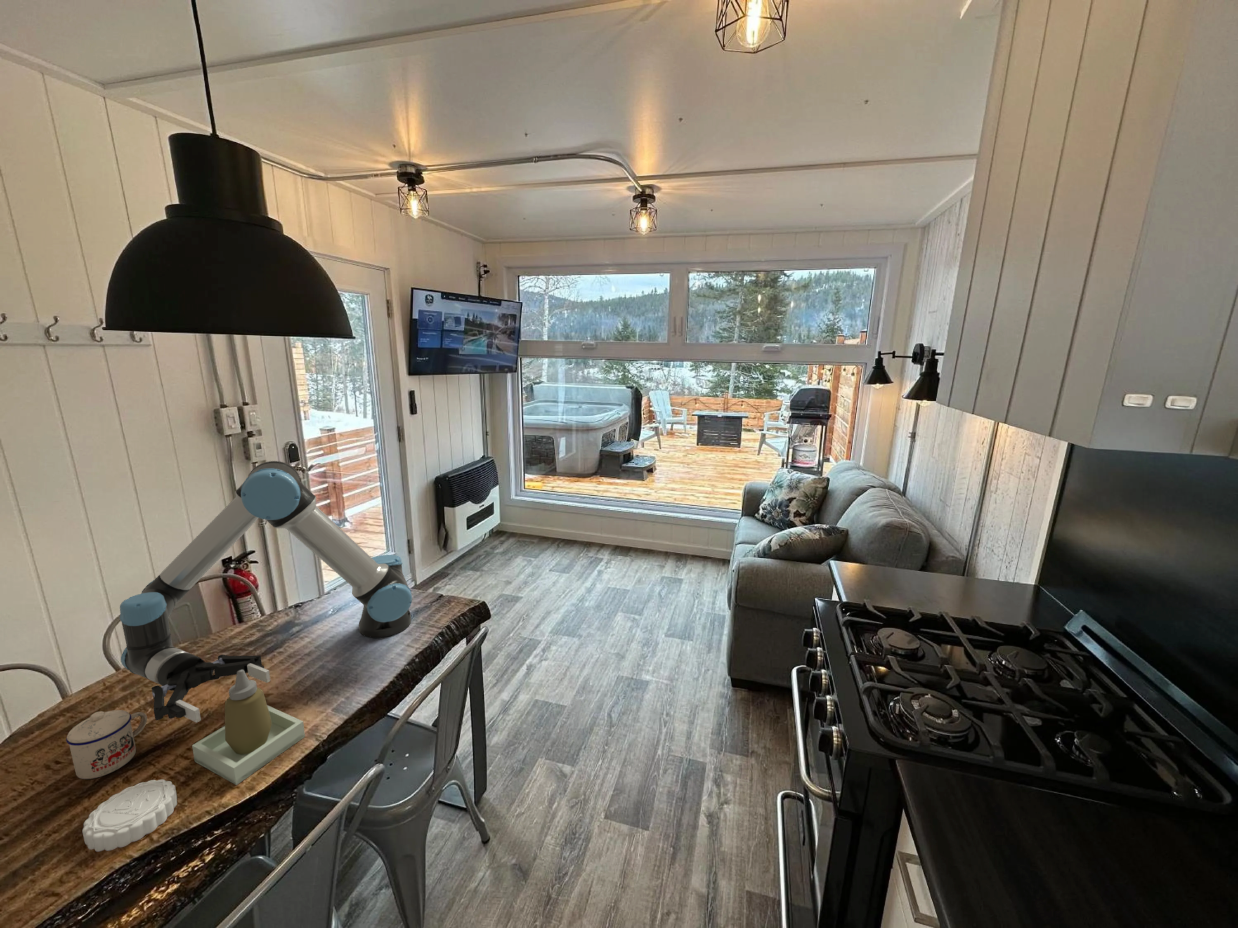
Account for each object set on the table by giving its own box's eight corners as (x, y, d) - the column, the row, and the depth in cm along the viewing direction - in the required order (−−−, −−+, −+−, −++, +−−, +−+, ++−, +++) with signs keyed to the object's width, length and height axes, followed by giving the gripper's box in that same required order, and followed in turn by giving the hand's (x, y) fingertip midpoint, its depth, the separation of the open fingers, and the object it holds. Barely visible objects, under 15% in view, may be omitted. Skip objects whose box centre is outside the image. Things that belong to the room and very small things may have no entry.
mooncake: (194, 793, 94) (192, 778, 93) (130, 855, 82) (127, 837, 81) (136, 789, 94) (133, 774, 93) (64, 849, 82) (60, 832, 82)
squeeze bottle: (218, 752, 102) (205, 677, 98) (257, 726, 109) (247, 656, 106) (244, 764, 99) (232, 687, 95) (282, 736, 107) (273, 664, 103)
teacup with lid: (94, 785, 94) (82, 735, 92) (62, 774, 96) (51, 724, 94) (164, 741, 106) (156, 694, 103) (135, 732, 108) (126, 686, 106)
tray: (264, 717, 113) (262, 703, 112) (305, 736, 108) (303, 721, 107) (194, 761, 101) (191, 745, 100) (236, 784, 95) (233, 767, 95)
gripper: (237, 654, 122) (294, 676, 115) (106, 719, 100) (166, 751, 92) (234, 628, 121) (291, 648, 113) (99, 687, 98) (159, 717, 91)
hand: (235, 694), depth 103 cm, fingers open, 13 cm apart
